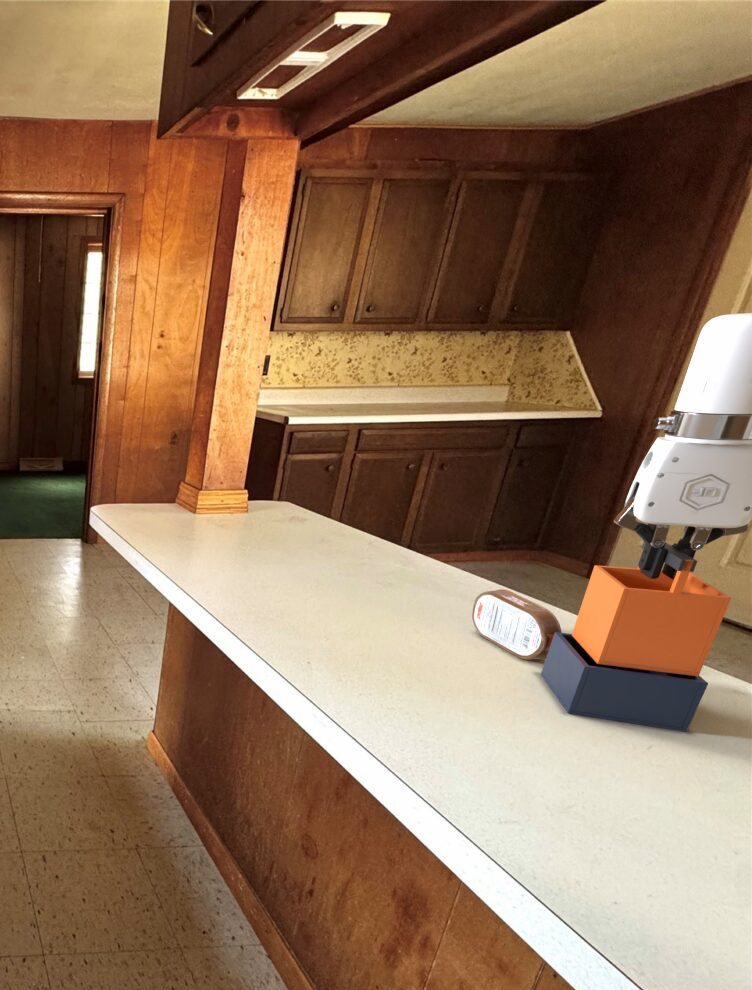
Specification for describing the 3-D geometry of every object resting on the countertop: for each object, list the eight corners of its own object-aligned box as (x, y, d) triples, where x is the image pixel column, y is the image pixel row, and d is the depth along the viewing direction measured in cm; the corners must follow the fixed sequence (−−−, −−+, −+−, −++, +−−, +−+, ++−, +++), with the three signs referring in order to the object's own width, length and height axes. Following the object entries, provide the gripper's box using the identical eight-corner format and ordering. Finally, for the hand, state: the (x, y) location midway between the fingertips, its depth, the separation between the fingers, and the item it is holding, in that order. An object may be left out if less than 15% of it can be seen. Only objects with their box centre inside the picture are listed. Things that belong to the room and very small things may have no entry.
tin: (554, 668, 99) (572, 617, 96) (533, 669, 99) (550, 618, 96) (481, 627, 113) (494, 582, 110) (462, 628, 113) (475, 582, 110)
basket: (662, 644, 90) (702, 541, 84) (699, 677, 81) (746, 564, 76) (571, 634, 94) (603, 535, 88) (597, 664, 85) (635, 556, 80)
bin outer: (645, 689, 93) (663, 644, 90) (686, 732, 83) (708, 683, 81) (540, 674, 98) (554, 631, 95) (567, 713, 88) (584, 666, 85)
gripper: (639, 431, 77) (590, 579, 84) (833, 433, 70) (764, 593, 77) (613, 423, 83) (569, 561, 90) (789, 424, 77) (728, 573, 83)
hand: (659, 575), depth 83 cm, fingers closed on basket, 1 cm apart
